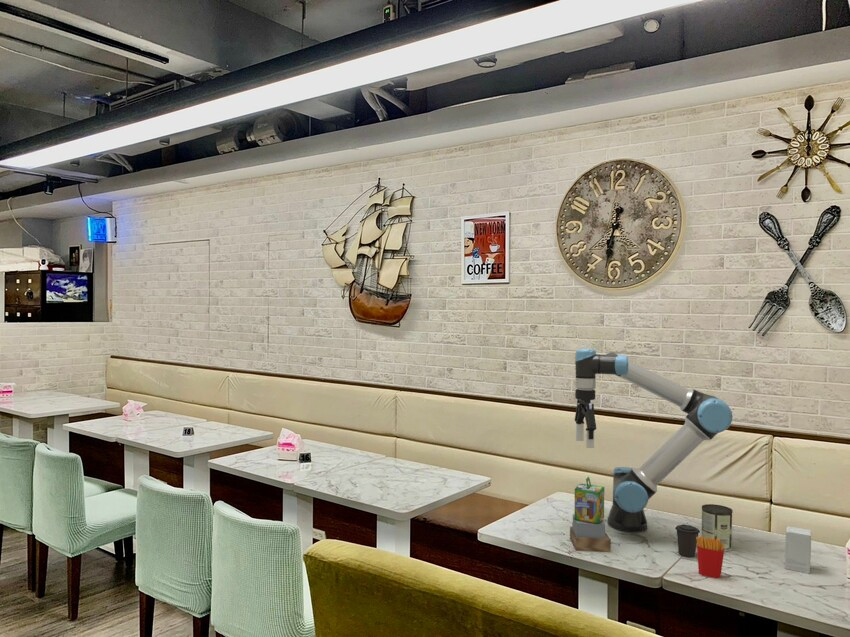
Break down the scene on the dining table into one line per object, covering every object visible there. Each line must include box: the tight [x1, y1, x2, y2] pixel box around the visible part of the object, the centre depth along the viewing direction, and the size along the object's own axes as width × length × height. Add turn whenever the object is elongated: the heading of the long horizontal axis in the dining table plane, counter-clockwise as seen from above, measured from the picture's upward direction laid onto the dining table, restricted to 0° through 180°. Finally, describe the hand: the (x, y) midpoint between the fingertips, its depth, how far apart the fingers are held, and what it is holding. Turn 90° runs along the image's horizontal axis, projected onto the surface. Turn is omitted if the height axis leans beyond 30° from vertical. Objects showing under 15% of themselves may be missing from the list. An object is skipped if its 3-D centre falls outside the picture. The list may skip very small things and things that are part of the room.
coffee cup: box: [675, 523, 701, 559], centre depth 219 cm, size 8×8×10 cm
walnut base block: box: [569, 526, 612, 553], centre depth 226 cm, size 12×12×5 cm
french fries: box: [696, 535, 725, 579], centre depth 202 cm, size 8×4×12 cm, turn 59°
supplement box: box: [784, 525, 812, 574], centre depth 210 cm, size 7×7×13 cm
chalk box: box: [574, 476, 605, 524], centre depth 226 cm, size 9×9×15 cm
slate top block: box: [571, 513, 607, 539], centre depth 226 cm, size 10×10×5 cm
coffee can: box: [700, 503, 733, 553], centre depth 228 cm, size 10×10×14 cm
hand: (584, 444), depth 240 cm, fingers open, 13 cm apart
